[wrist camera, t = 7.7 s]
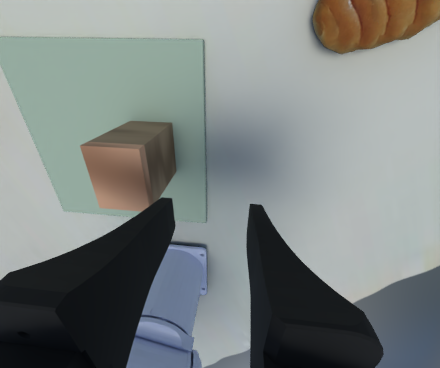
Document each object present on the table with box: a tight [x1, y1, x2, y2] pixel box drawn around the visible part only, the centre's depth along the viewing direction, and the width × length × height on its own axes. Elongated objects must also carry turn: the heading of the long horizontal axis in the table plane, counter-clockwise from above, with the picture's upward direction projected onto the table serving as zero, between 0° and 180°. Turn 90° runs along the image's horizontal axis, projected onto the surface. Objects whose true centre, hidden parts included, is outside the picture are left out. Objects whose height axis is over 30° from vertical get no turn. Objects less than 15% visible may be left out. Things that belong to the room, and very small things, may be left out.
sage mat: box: [0, 37, 207, 223], centre depth 21 cm, size 18×18×1 cm
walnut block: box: [80, 121, 177, 212], centre depth 18 cm, size 5×4×7 cm
